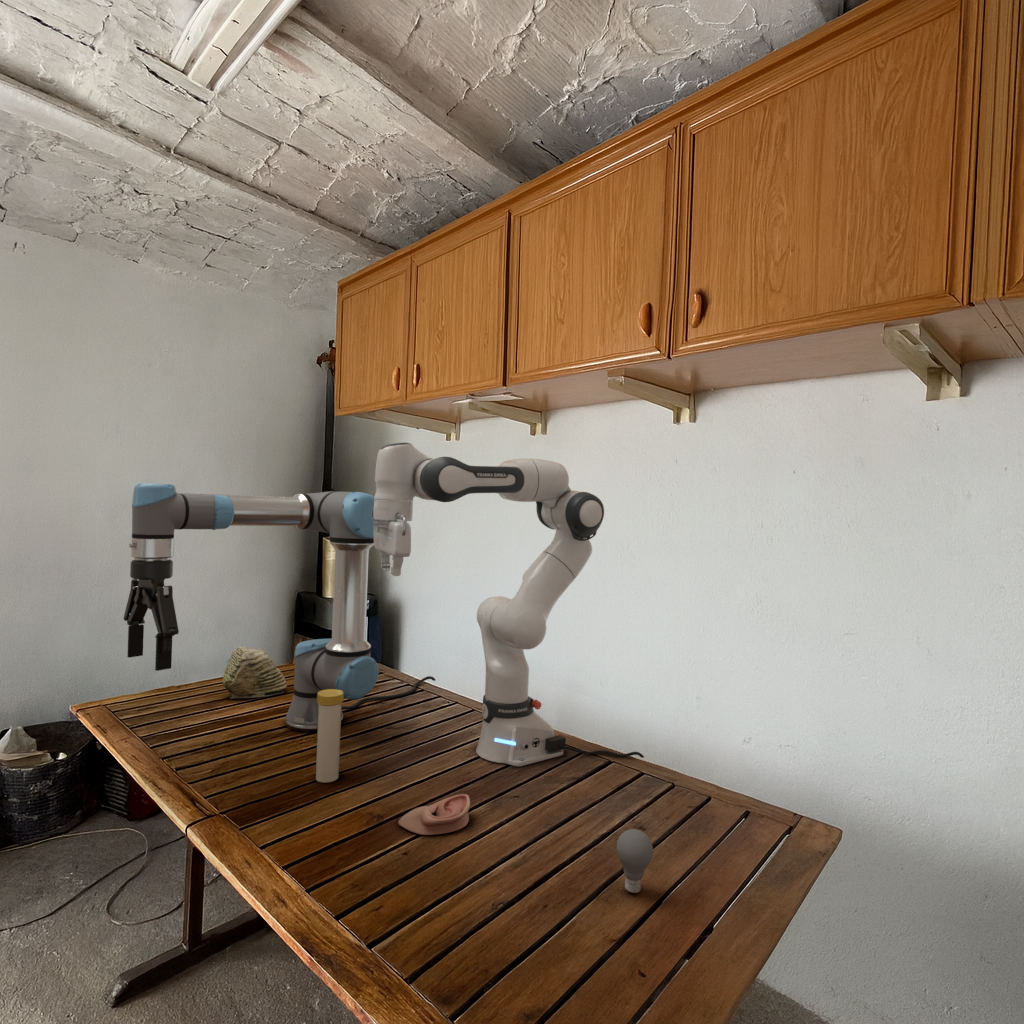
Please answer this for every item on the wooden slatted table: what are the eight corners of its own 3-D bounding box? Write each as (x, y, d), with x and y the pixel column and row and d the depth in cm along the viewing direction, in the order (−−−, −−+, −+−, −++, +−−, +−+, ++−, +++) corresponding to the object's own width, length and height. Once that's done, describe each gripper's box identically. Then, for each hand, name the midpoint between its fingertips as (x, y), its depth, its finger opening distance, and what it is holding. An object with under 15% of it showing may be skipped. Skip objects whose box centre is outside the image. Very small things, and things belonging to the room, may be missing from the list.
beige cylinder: (337, 771, 146) (340, 690, 146) (339, 781, 141) (343, 697, 141) (314, 774, 144) (318, 692, 144) (316, 783, 140) (319, 698, 139)
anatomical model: (392, 810, 121) (414, 784, 132) (391, 830, 121) (413, 803, 132) (459, 820, 118) (475, 792, 130) (458, 841, 118) (474, 812, 130)
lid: (341, 696, 146) (342, 688, 146) (344, 704, 141) (344, 695, 141) (316, 698, 144) (316, 689, 144) (317, 706, 139) (318, 697, 139)
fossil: (218, 695, 195) (220, 647, 195) (278, 685, 208) (279, 640, 207) (228, 703, 189) (230, 653, 188) (289, 692, 201) (290, 645, 201)
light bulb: (610, 879, 108) (613, 822, 108) (644, 879, 109) (647, 822, 109) (619, 902, 102) (622, 840, 102) (655, 901, 103) (658, 840, 103)
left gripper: (108, 554, 134) (104, 654, 134) (159, 565, 118) (155, 678, 119) (146, 552, 140) (143, 648, 140) (199, 563, 124) (195, 671, 124)
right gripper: (419, 515, 137) (416, 578, 137) (395, 511, 156) (393, 567, 156) (390, 514, 135) (388, 579, 135) (369, 510, 153) (367, 568, 153)
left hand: (148, 662), depth 129 cm, fingers open, 13 cm apart
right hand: (390, 573), depth 146 cm, fingers open, 8 cm apart
